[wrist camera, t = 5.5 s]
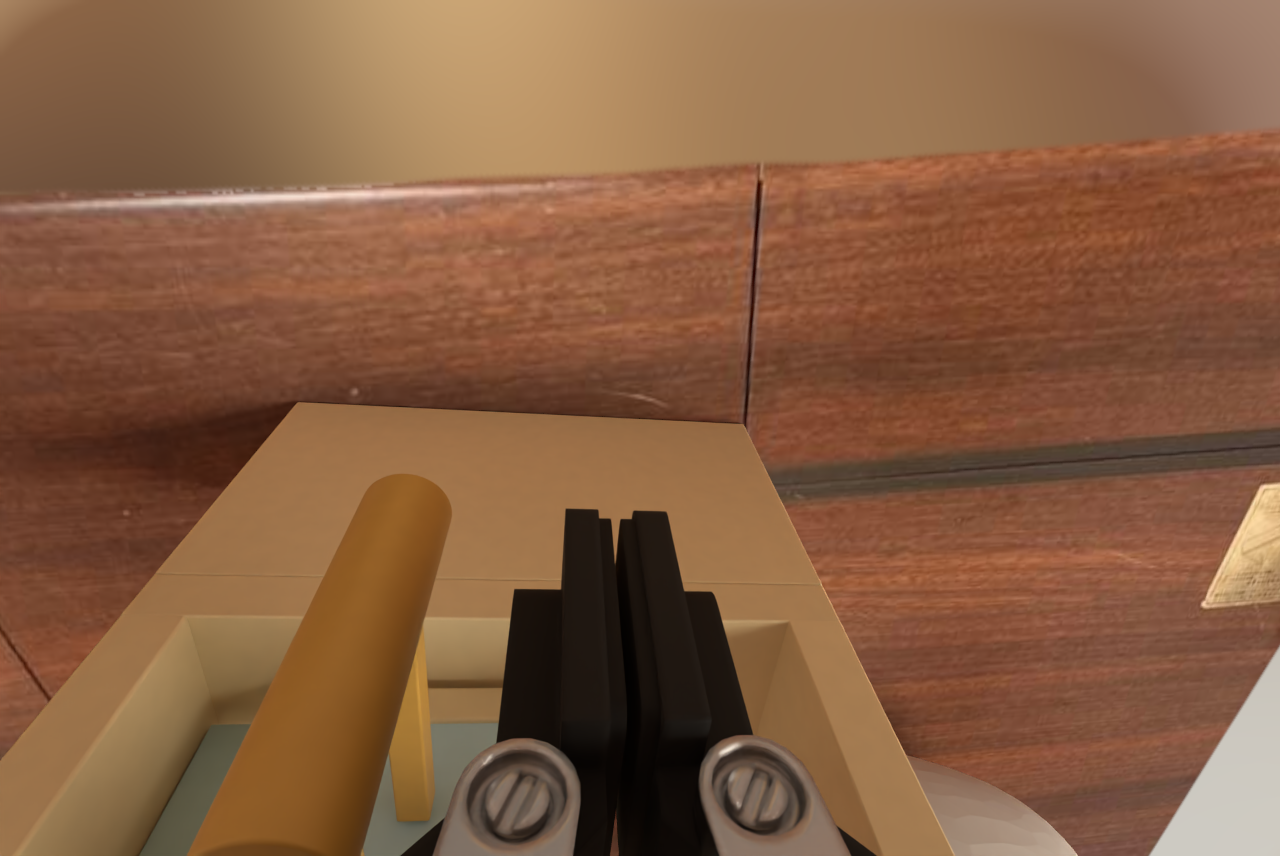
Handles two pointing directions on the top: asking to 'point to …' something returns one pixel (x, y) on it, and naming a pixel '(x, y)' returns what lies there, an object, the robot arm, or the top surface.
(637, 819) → the robot arm
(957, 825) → the table lamp
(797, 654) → the window frame
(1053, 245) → the top surface
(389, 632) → the sash
